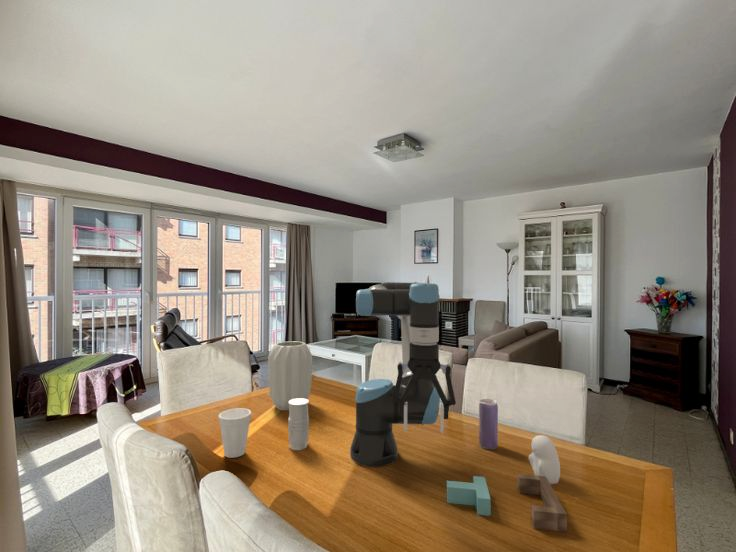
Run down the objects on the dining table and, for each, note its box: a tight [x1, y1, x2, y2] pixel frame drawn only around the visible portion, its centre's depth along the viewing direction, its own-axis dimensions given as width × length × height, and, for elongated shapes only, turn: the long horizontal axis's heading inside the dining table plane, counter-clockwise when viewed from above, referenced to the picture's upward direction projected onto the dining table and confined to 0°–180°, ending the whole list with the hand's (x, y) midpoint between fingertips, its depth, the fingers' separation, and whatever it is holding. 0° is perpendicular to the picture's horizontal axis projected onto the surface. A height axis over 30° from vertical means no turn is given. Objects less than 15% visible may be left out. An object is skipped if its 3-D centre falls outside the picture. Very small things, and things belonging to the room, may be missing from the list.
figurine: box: [528, 434, 561, 485], centre depth 106 cm, size 7×8×12 cm
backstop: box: [517, 473, 568, 533], centre depth 92 cm, size 7×16×4 cm, turn 170°
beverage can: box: [478, 398, 499, 451], centre depth 126 cm, size 6×6×15 cm
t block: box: [446, 475, 492, 517], centre depth 95 cm, size 10×10×4 cm
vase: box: [267, 340, 313, 412], centre depth 164 cm, size 20×20×28 cm
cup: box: [217, 407, 252, 459], centre depth 120 cm, size 10×10×13 cm
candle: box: [287, 398, 310, 451], centre depth 126 cm, size 7×7×15 cm
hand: (423, 429), depth 97 cm, fingers open, 9 cm apart
